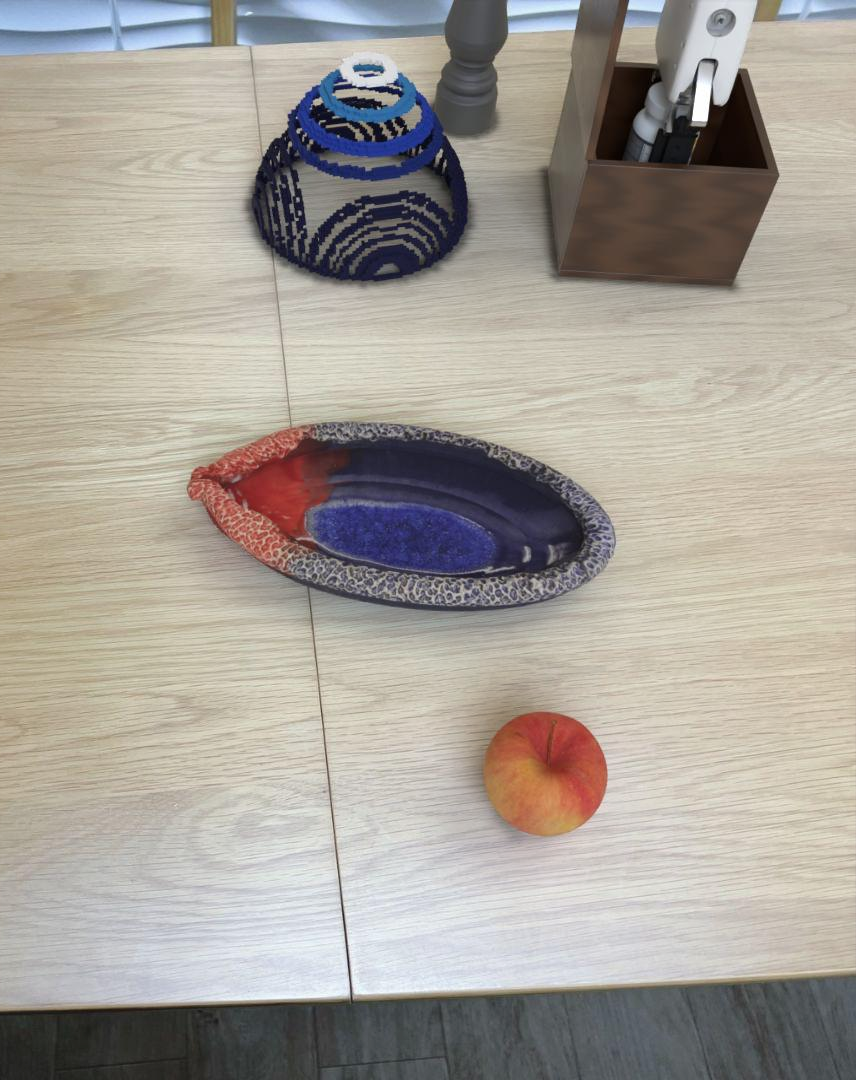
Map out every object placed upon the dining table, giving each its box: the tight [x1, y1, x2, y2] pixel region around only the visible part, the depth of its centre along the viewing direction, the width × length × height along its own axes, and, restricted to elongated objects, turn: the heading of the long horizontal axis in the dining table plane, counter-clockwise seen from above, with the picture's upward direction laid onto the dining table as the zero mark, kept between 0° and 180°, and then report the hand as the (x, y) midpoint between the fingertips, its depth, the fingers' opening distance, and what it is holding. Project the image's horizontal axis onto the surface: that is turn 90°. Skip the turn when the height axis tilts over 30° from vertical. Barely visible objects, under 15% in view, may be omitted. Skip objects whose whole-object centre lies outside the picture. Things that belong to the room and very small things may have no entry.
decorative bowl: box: [251, 51, 469, 283], centre depth 98 cm, size 20×20×14 cm
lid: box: [570, 0, 630, 160], centre depth 87 cm, size 16×16×1 cm
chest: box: [547, 60, 780, 287], centre depth 98 cm, size 16×16×12 cm
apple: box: [482, 711, 609, 837], centre depth 66 cm, size 7×7×8 cm
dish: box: [186, 421, 617, 612], centre depth 79 cm, size 16×31×5 cm, turn 79°
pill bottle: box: [622, 82, 700, 165], centre depth 96 cm, size 6×6×10 cm
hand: (660, 147), depth 96 cm, fingers closed on pill bottle, 5 cm apart
